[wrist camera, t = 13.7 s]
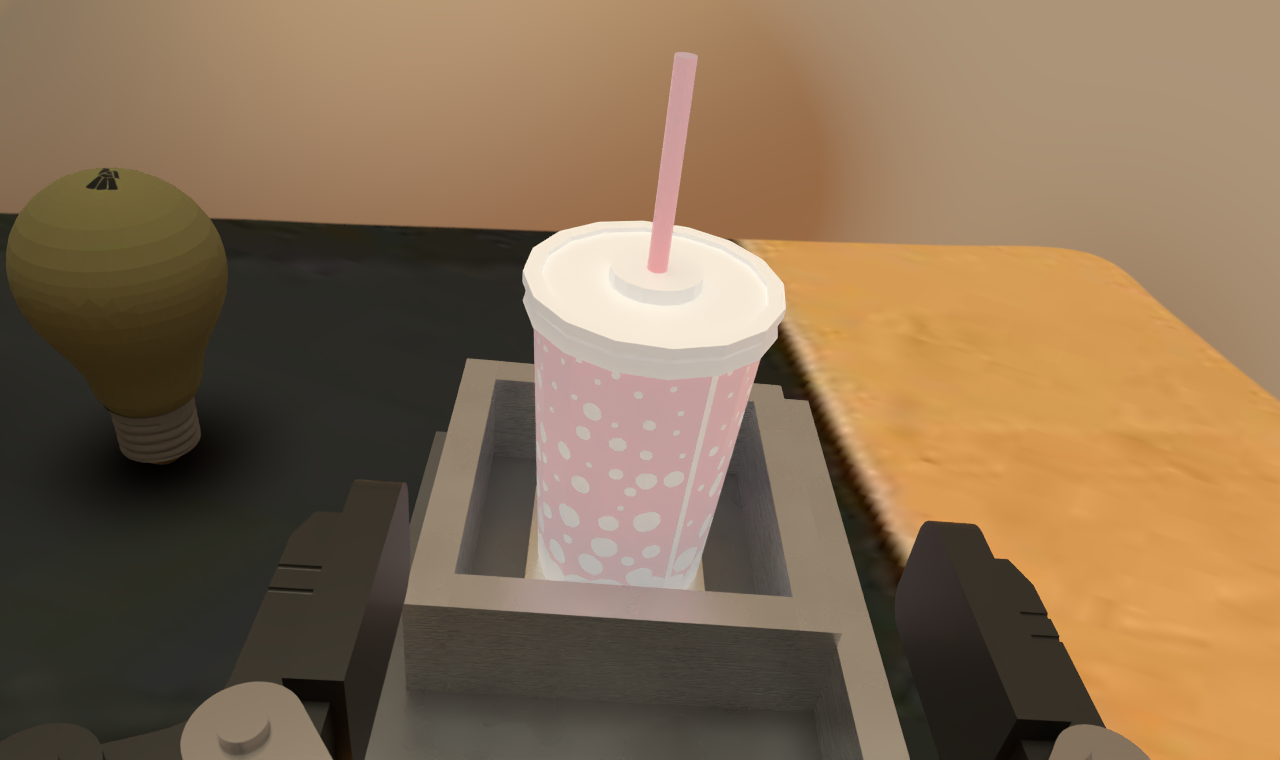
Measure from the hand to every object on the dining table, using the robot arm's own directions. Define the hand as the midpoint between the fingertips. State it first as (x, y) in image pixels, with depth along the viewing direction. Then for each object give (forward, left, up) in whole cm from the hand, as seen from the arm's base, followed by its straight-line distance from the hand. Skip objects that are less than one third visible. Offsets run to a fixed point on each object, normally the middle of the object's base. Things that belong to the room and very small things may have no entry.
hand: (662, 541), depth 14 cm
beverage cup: (0, +8, -9) cm, 12 cm away
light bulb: (-15, +14, -11) cm, 23 cm away
